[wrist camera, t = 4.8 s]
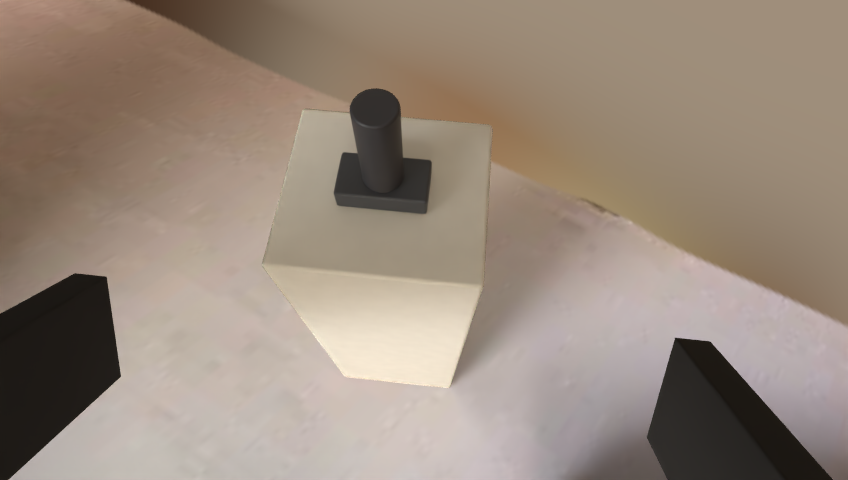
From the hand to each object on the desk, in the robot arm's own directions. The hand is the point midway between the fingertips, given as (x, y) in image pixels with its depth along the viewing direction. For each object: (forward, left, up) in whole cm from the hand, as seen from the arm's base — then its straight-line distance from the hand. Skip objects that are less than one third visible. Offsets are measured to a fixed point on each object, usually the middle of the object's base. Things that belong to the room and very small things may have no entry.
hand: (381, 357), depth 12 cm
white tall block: (-2, +2, -8) cm, 9 cm away
